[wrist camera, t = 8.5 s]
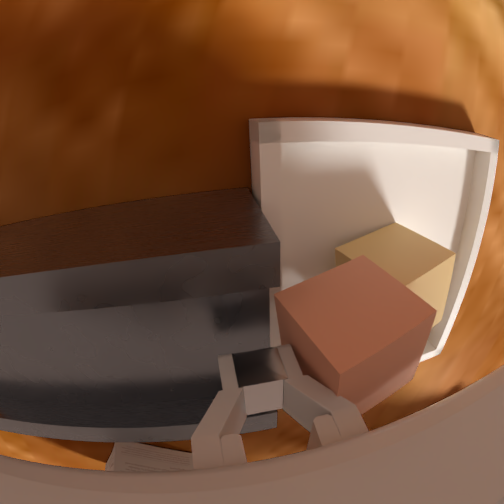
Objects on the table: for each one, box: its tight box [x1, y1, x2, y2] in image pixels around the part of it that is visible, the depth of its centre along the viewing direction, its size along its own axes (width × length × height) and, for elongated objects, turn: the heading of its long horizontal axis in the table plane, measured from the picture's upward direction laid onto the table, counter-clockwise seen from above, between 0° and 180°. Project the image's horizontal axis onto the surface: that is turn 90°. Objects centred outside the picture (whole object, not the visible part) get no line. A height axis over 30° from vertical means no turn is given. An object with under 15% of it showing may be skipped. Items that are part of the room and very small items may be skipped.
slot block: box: [0, 187, 280, 442], centre depth 12 cm, size 17×10×6 cm, turn 92°
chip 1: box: [335, 222, 456, 328], centre depth 14 cm, size 4×4×4 cm
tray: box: [249, 117, 499, 362], centre depth 16 cm, size 14×16×2 cm
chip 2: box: [274, 255, 437, 414], centre depth 11 cm, size 4×4×4 cm
